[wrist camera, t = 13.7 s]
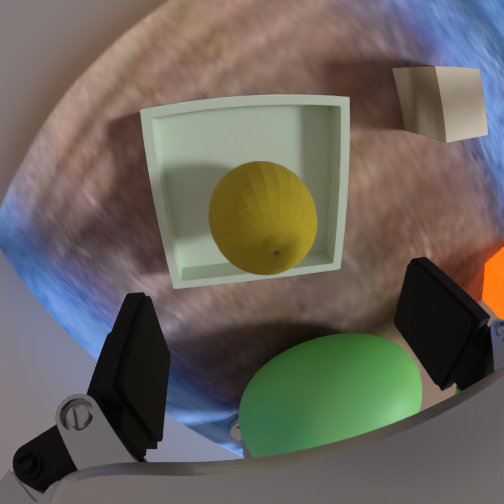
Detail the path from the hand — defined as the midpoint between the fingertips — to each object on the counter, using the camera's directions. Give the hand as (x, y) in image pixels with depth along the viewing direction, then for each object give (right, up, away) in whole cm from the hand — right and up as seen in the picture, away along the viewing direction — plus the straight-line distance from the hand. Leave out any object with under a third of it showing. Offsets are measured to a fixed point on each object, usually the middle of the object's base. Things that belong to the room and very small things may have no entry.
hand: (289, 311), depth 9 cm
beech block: (+12, +14, +7) cm, 20 cm away
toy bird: (+6, -10, +20) cm, 23 cm away
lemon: (-1, +6, +9) cm, 11 cm away
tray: (-1, +7, +9) cm, 11 cm away
